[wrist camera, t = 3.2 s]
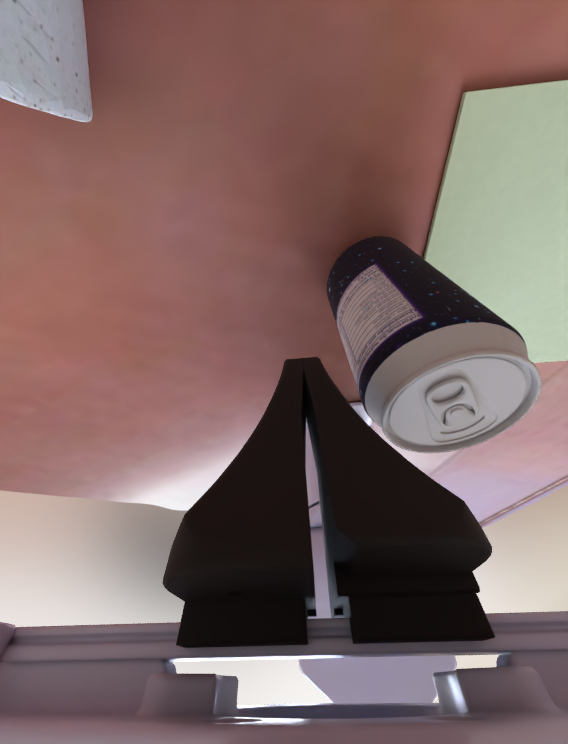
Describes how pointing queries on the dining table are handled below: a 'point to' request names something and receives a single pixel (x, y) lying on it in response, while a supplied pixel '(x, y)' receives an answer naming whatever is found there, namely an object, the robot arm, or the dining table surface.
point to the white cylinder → (45, 57)
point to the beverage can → (427, 351)
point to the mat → (509, 210)
